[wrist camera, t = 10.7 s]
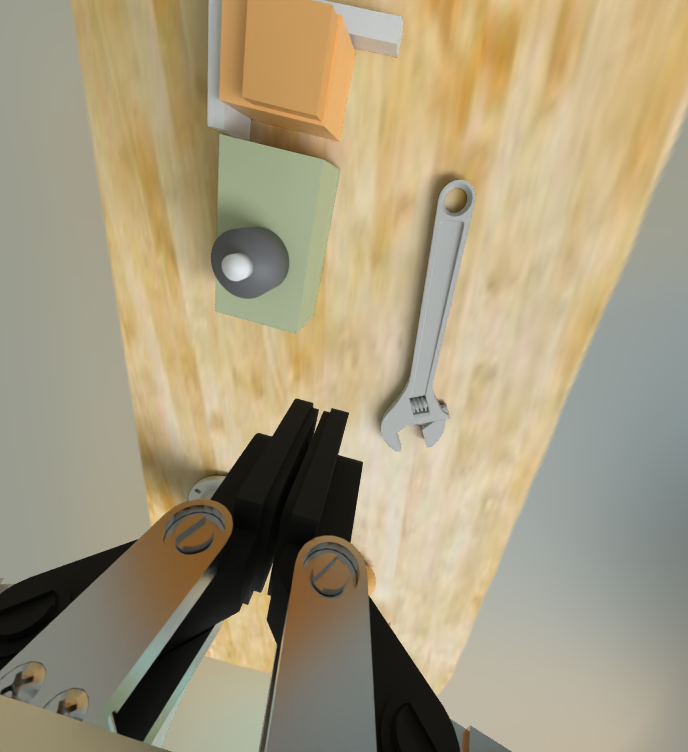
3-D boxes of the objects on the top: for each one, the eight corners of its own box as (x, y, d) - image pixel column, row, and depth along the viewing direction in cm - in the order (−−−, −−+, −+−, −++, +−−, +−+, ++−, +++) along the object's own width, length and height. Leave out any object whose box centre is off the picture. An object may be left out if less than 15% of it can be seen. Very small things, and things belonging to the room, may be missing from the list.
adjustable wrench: (439, 178, 25) (442, 176, 23) (525, 191, 24) (534, 189, 23) (377, 435, 36) (376, 445, 35) (434, 448, 36) (436, 459, 34)
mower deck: (339, 321, 31) (312, 363, 22) (228, 291, 31) (161, 320, 23) (402, 33, 21) (398, -88, 13) (241, -2, 22) (132, -141, 13)
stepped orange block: (340, 142, 24) (319, 120, 19) (252, 119, 25) (206, 92, 19) (355, 54, 22) (337, 0, 16) (259, 31, 22) (209, -29, 17)
